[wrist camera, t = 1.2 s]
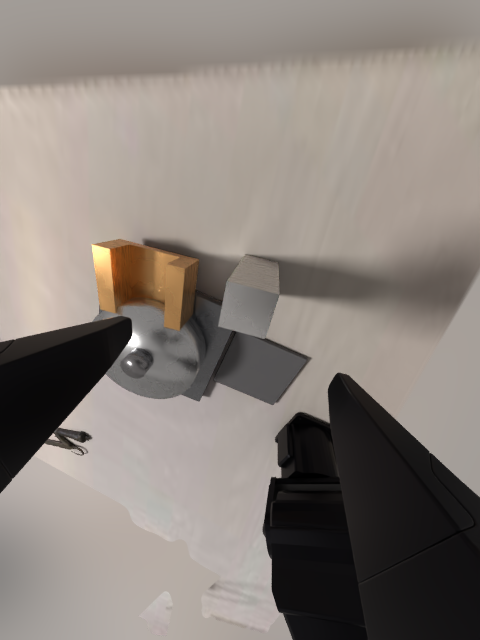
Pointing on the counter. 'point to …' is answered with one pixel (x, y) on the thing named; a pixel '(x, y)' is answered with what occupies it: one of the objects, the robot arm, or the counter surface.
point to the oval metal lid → (151, 316)
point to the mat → (258, 367)
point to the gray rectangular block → (250, 296)
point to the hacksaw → (71, 434)
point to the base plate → (206, 340)
